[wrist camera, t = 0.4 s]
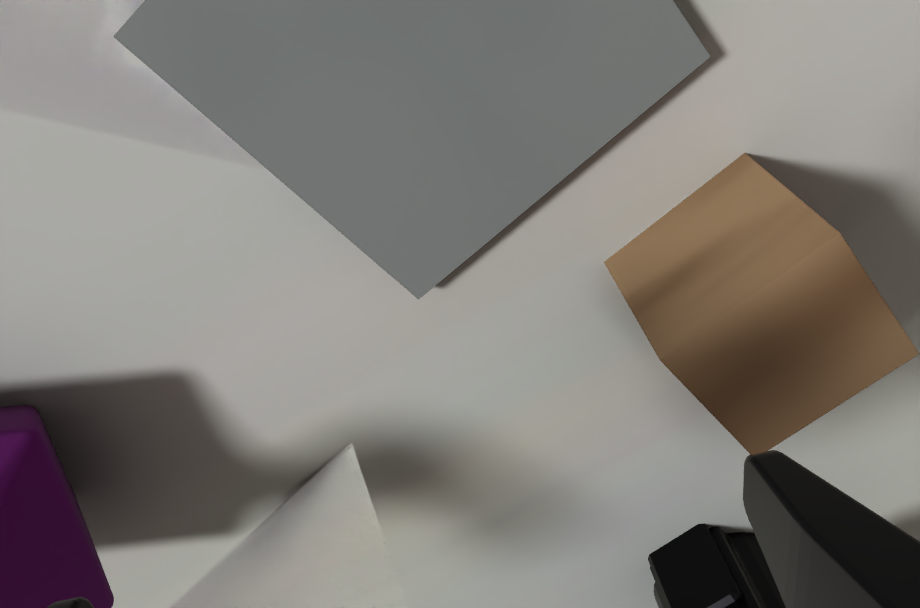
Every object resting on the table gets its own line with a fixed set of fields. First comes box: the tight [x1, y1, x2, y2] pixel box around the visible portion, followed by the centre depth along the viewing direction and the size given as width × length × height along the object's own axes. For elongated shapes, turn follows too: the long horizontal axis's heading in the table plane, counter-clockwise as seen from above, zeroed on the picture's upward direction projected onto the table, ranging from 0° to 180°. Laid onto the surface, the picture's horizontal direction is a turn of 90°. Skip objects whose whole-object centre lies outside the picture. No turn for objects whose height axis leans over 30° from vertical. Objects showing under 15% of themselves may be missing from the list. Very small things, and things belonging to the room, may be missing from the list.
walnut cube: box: [604, 153, 919, 455], centre depth 21 cm, size 5×5×5 cm
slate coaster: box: [114, 0, 710, 299], centre depth 18 cm, size 10×10×1 cm
